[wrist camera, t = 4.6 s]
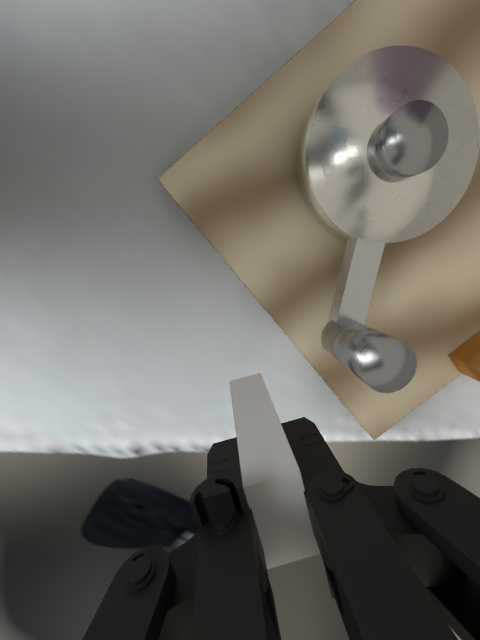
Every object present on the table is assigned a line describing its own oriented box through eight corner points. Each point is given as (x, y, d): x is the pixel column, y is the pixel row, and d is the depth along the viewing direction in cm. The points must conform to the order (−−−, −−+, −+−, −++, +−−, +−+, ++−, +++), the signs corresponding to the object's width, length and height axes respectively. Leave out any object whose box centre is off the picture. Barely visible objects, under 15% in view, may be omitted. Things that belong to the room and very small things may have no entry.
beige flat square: (162, 185, 18) (148, 164, 14) (432, -57, 16) (500, -156, 12) (363, 428, 22) (395, 464, 18) (585, 255, 21) (669, 255, 17)
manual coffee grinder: (317, 51, 15) (384, -82, 9) (470, 94, 16) (619, 0, 10) (259, 339, 18) (283, 379, 12) (392, 359, 19) (474, 405, 13)
